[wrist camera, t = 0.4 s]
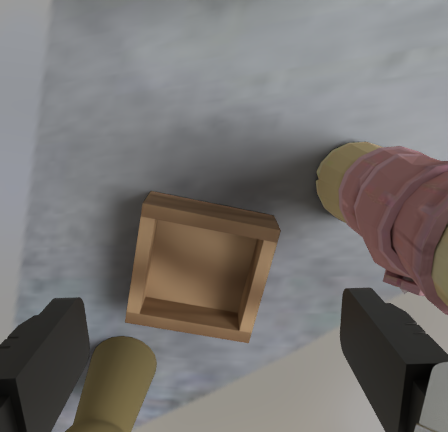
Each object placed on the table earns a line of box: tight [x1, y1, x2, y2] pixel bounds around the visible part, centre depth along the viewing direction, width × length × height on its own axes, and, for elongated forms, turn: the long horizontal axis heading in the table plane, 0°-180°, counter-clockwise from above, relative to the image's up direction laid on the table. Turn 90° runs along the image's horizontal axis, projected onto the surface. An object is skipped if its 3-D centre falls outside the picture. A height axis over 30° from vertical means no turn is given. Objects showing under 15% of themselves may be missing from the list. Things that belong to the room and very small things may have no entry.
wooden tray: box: [125, 191, 281, 343], centre depth 29 cm, size 10×10×3 cm
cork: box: [65, 336, 157, 432], centre depth 28 cm, size 6×6×11 cm
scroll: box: [316, 142, 448, 315], centre depth 19 cm, size 8×8×20 cm
